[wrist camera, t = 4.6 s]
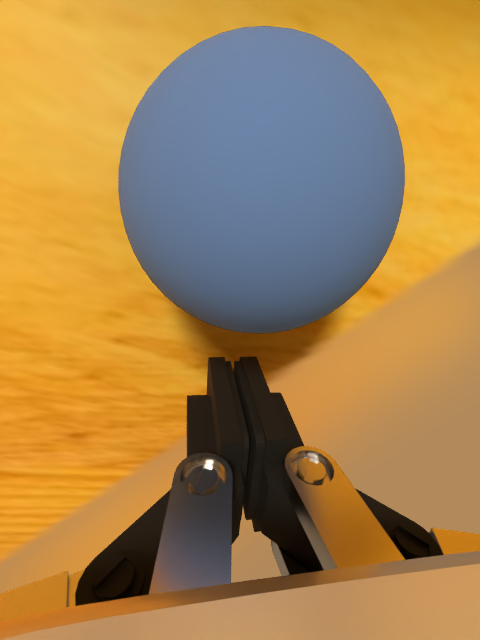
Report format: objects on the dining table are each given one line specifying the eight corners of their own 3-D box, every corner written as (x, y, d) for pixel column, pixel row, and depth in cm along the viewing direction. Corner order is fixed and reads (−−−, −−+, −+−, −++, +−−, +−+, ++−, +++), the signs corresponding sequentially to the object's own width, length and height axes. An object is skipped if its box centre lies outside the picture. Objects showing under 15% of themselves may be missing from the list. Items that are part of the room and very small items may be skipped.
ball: (349, 93, 10) (567, -10, 4) (312, 289, 12) (418, 387, 6) (134, 59, 8) (47, -140, 3) (141, 282, 11) (98, 392, 5)
